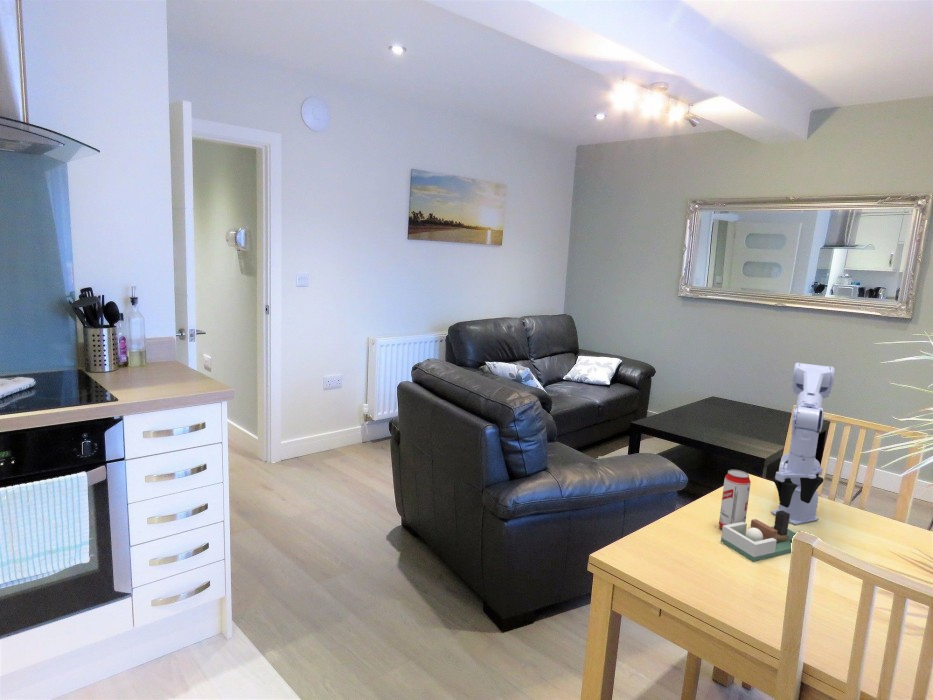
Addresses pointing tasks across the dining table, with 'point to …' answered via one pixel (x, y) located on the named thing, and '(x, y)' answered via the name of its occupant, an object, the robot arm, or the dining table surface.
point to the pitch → (754, 543)
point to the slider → (779, 527)
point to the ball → (754, 534)
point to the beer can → (734, 498)
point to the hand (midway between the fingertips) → (794, 503)
